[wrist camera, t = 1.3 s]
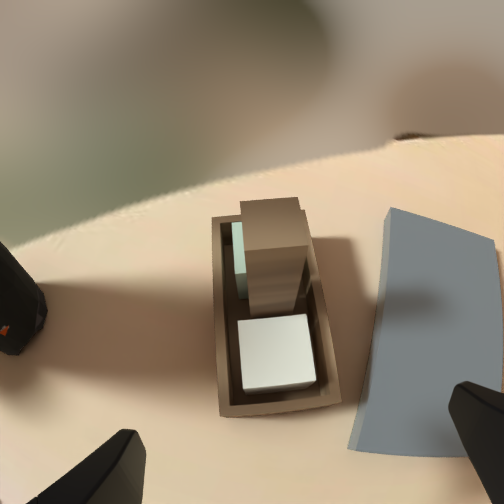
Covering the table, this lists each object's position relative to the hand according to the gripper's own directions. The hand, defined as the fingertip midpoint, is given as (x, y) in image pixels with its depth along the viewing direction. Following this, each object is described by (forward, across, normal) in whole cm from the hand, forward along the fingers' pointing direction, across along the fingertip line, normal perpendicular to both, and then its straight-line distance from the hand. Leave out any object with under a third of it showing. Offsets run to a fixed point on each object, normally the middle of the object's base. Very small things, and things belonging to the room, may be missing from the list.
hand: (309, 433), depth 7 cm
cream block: (+12, 0, +6) cm, 14 cm away
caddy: (+15, 0, +4) cm, 16 cm away
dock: (+13, -14, +6) cm, 20 cm away
